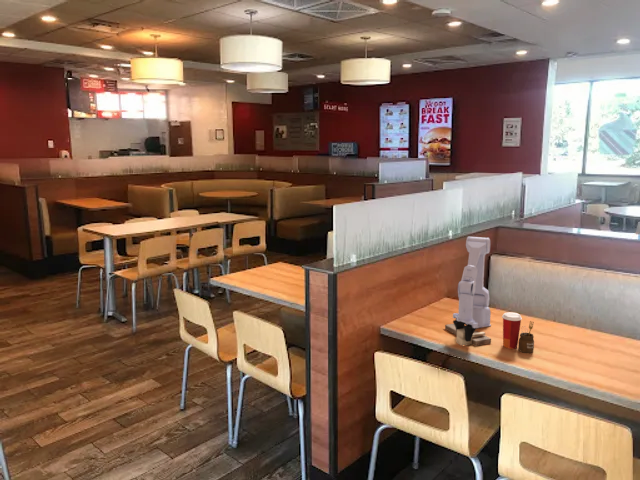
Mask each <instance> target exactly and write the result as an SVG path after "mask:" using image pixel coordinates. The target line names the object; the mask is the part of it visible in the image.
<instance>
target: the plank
mask: <svg viewBox="0 0 640 480" xmlns="http://www.w3.org/2000/svg"><path fill="white" fill-rule="evenodd" d="M444 330H446V331H448V332H450V333H452V334H454V335H455V336H457V331H456V327H455V325H454V323H450V324H449V323H447V324H445V325H444ZM474 333H479V331H477V330H475V331H474ZM491 343H492V338H491V337H489V336H486V334H485V335H483V336H477V337H472V344H471V345H474V346H482V345H487V344H491Z"/></svg>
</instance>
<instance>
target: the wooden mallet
mask: <svg viewBox="0 0 640 480" xmlns="http://www.w3.org/2000/svg"><path fill="white" fill-rule="evenodd" d="M478 332H479V331H478ZM483 335H485V336H486V332H485V331H480V332H479V333H473V335H472V337H477V336H483ZM455 342H456V344H458V345H460V346H461V345H462V346H461V347H464V346H463V345H465V346H469V345H470V344H471V345H473V344H472V338H471V341H468V342H467V341H466V340H465V330H464V328H463V329H457V335H456V339H455Z"/></svg>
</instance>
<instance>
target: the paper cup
mask: <svg viewBox="0 0 640 480" xmlns="http://www.w3.org/2000/svg"><path fill="white" fill-rule="evenodd" d="M501 318H502V346H503V348H506V349H510V350H515V349H517V348H518V344H519V338H520V329H521V323H522V319H523V318H522V316H521V314H519V313H517V312H512V311H511V312H509V311H507V312H504V313H503V314H502V316H501Z"/></svg>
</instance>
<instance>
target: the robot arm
mask: <svg viewBox="0 0 640 480" xmlns="http://www.w3.org/2000/svg"><path fill="white" fill-rule="evenodd" d="M465 247H466V252H468V258H467V259H468V260H467V265H466V266H464V267H463V272H462V276H461V280H460V281H458V284H457V296H458V297H457V298H458V312H455V313H452V319H454V320H453V321H452V324H454V325H455V327H456V331H457V329H463V328H464V330H465V340H466V341H467V342H468V341H471V338H472V335H473V333H474V331H477V329H480V328H485V327H486V328H487V327H491V326H492V324H491V317H492V316H491V313H492V312H491V309H490V307H489V306H490V291H489V290H488V289H487V288H486V287H485V286H484V278H485V259H486V255H487V254H490V252H491V239H490V237H480V236H471V235H470V236H467V237H466V241H465Z"/></svg>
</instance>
